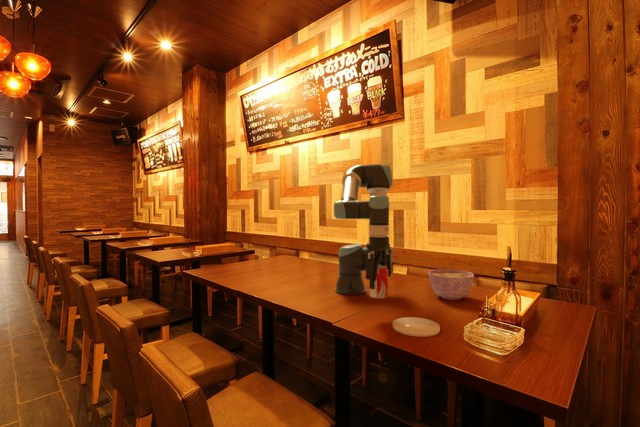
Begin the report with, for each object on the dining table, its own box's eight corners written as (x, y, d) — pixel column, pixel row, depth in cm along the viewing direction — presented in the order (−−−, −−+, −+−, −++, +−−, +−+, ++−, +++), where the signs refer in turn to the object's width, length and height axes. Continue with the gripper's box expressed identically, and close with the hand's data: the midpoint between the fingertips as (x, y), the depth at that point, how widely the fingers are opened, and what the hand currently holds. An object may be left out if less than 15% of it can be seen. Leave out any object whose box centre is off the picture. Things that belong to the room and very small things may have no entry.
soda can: (388, 299, 127) (388, 267, 127) (369, 298, 129) (369, 267, 128) (388, 294, 134) (388, 264, 134) (370, 293, 136) (370, 263, 135)
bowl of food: (423, 292, 169) (423, 269, 168) (463, 292, 168) (464, 269, 168) (435, 303, 149) (435, 277, 148) (482, 304, 148) (482, 277, 148)
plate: (383, 328, 119) (383, 325, 119) (406, 317, 131) (406, 314, 131) (426, 340, 108) (426, 337, 108) (447, 327, 120) (447, 324, 120)
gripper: (372, 239, 121) (372, 302, 122) (401, 234, 135) (400, 291, 136) (355, 237, 126) (355, 298, 127) (384, 233, 140) (384, 288, 141)
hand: (379, 294), depth 132 cm, fingers closed on soda can, 7 cm apart
